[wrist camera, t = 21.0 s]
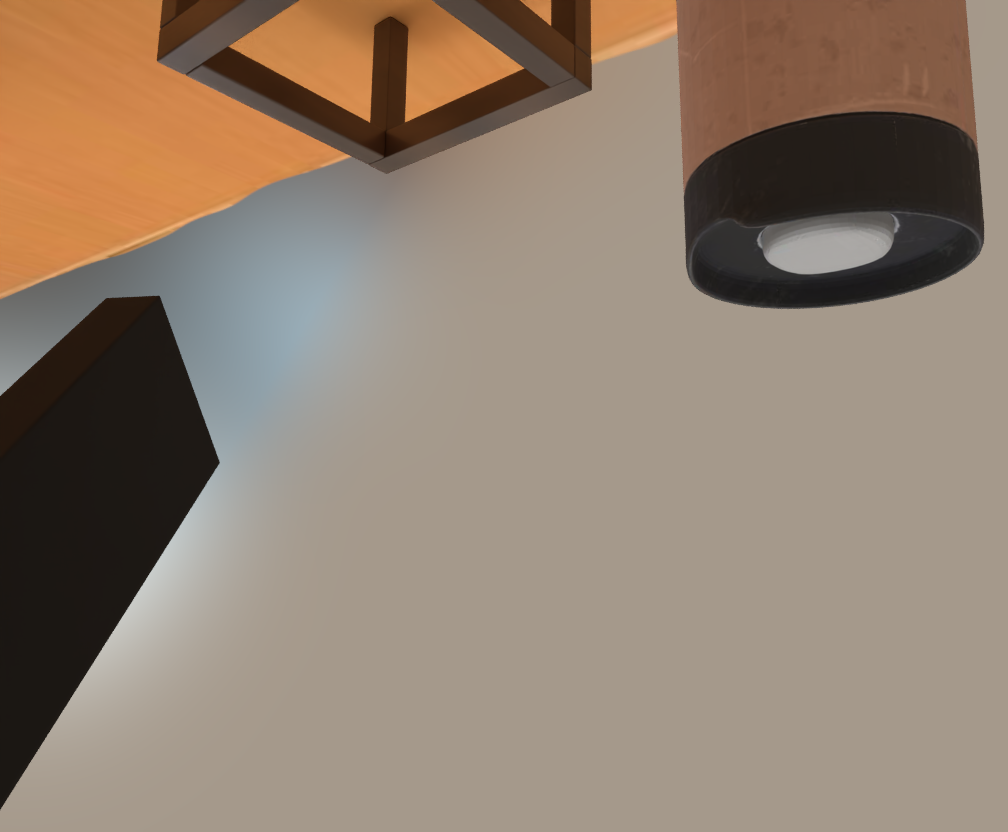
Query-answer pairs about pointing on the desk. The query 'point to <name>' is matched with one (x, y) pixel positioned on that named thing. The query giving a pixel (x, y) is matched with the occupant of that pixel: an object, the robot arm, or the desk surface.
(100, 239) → the desk surface
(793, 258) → the travel mug
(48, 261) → the desk surface
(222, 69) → the rack
